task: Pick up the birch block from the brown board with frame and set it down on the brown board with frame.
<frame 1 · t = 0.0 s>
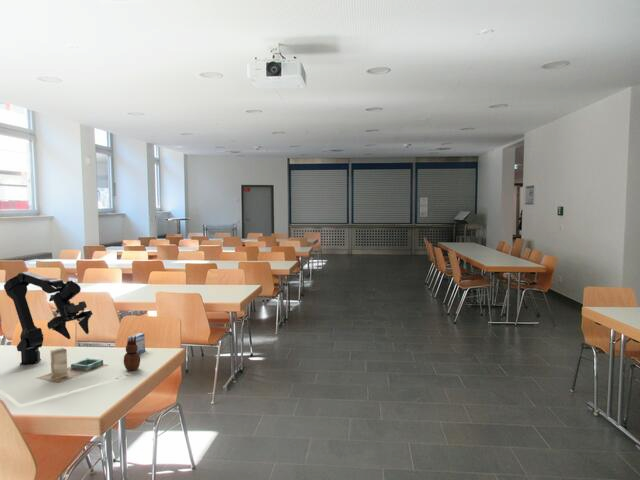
hand: (78, 336, 203), 15 cm above the table, tool tilted 35°, fingers open, 9 cm apart
medicine box: (136, 353, 228), on the table
wooden figurine: (132, 370, 203), on the table
brown board with frame: (74, 373, 199), on the table
birch block: (59, 376, 193), point 1 cm above the table, touching brown board with frame
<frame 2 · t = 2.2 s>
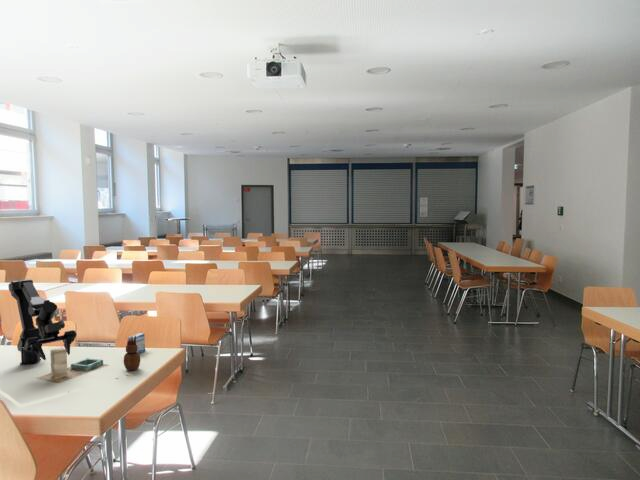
hand: (57, 356, 193), 9 cm above the table, tool tilted 45°, fingers open, 9 cm apart
nothing on the table moved.
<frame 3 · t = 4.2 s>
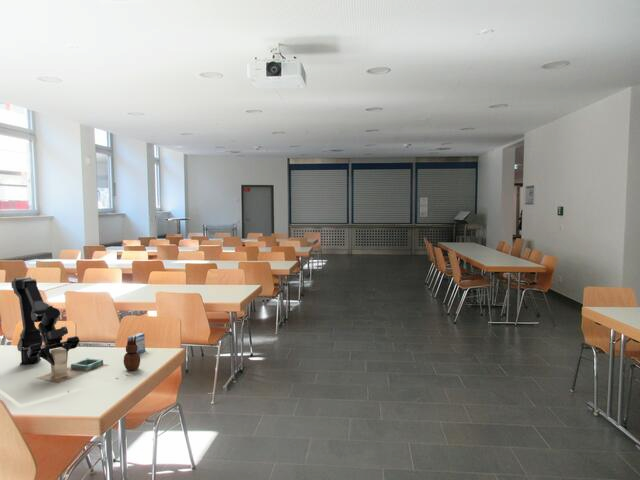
hand: (60, 363, 192), 7 cm above the table, tool tilted 45°, fingers closed on birch block, 4 cm apart
birch block: (59, 376, 193), point 1 cm above the table, touching brown board with frame, gripper
everything else where it was.
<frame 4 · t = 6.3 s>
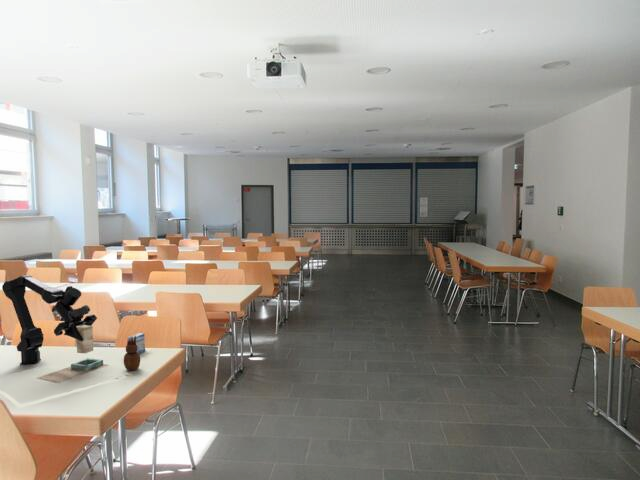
hand: (87, 339, 203), 13 cm above the table, tool tilted 45°, fingers closed on birch block, 4 cm apart
birch block: (85, 351, 204), point 8 cm above the table, touching gripper
everything else where it was.
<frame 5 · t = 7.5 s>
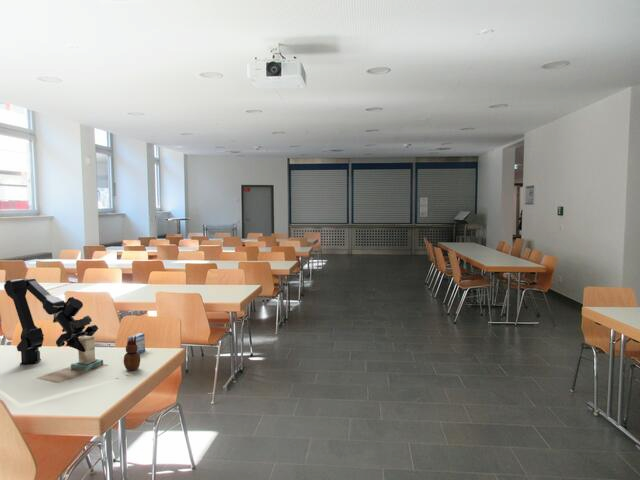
hand: (89, 349, 204), 9 cm above the table, tool tilted 45°, fingers closed on birch block, 4 cm apart
birch block: (87, 362, 205), point 3 cm above the table, touching gripper
everything else where it was.
when the fingers open (7 cm above the table, at t = 8.5 s): birch block stays where it is, resting on brown board with frame.
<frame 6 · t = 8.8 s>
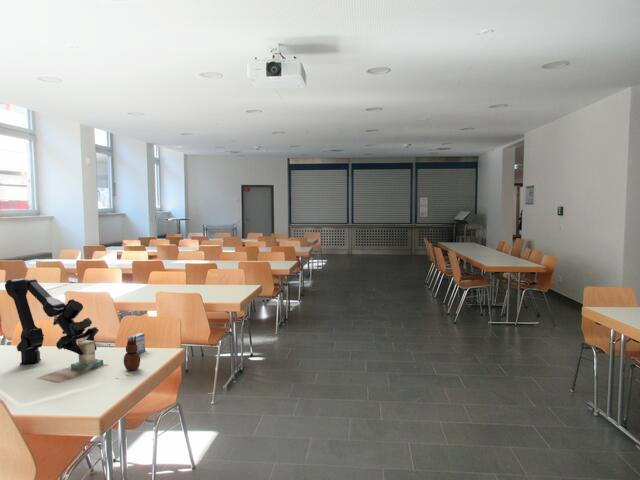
hand: (89, 352, 204), 8 cm above the table, tool tilted 45°, fingers open, 7 cm apart
birch block: (87, 366, 205), point 1 cm above the table, touching brown board with frame
everything else where it was.
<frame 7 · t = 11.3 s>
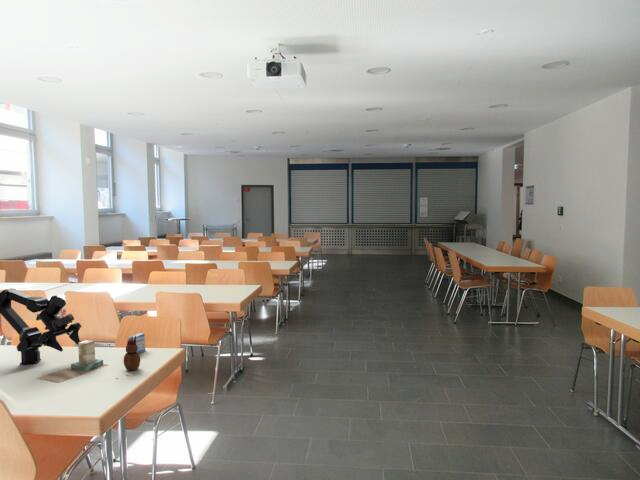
hand: (71, 347, 207), 9 cm above the table, tool tilted 45°, fingers open, 9 cm apart
nothing on the table moved.
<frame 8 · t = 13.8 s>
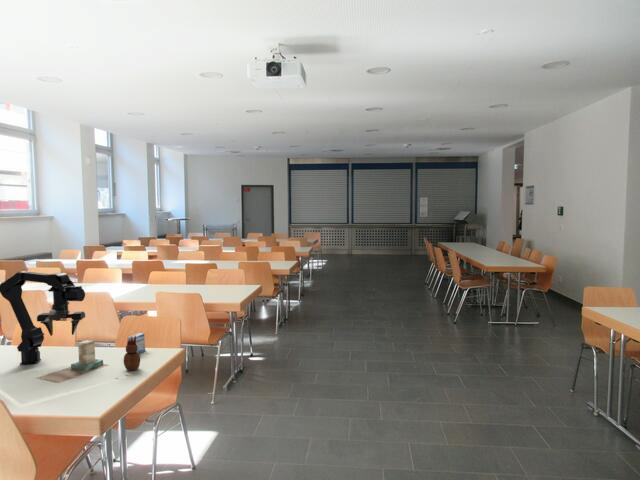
hand: (62, 335, 212), 13 cm above the table, tool pointing down, fingers open, 9 cm apart
nothing on the table moved.
at the end: birch block 0.0 cm from the target spot, point 1.0 cm above the table; birch block tilted 0°; the gripper is holding nothing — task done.
